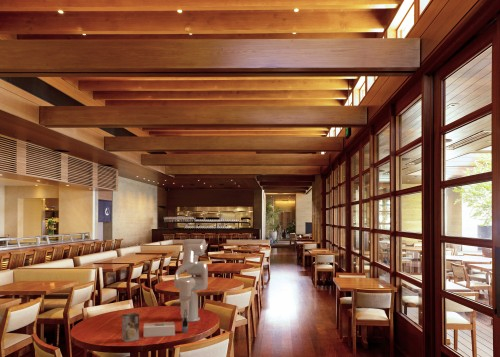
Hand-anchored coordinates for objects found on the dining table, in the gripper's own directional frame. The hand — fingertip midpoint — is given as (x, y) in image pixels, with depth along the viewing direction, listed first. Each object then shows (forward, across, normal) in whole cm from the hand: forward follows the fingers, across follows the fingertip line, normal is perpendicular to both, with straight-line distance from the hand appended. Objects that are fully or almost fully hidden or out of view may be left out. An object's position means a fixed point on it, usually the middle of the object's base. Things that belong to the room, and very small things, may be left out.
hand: (184, 325), depth 322 cm
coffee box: (+5, +13, -35) cm, 38 cm away
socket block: (+4, +2, -17) cm, 18 cm away
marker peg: (+4, 0, 0) cm, 4 cm away
